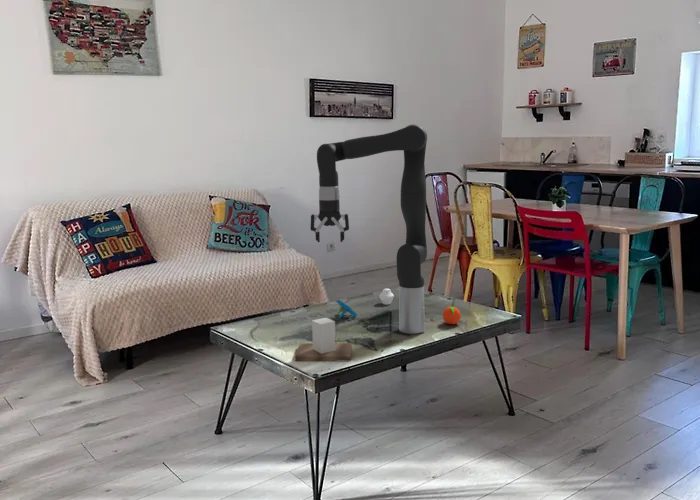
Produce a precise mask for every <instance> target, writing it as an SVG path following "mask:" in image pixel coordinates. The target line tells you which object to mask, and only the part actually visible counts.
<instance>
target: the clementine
mask: <svg viewBox="0 0 700 500" xmlns="http://www.w3.org/2000/svg"><path fill="white" fill-rule="evenodd" d="M461 313H462V312H461V311H460V310H459V308H457V307H456V306H453V305H451V306H447V307H446V308H445V309H444V310H443V312H442V319H443V321H444V323H446V324H448V325H451V324H453V325H455V324H458V323H459V322H460V320H461V318H462V314H461Z"/></svg>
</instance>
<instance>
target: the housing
mask: <svg viewBox="0 0 700 500" xmlns="http://www.w3.org/2000/svg"><path fill="white" fill-rule="evenodd" d="M311 325H312V327H311V328H312V330H311V331H312V343H313V349H314V350H315V351H317V352H319V353H321V354H322V353H326V352H331V351H335V350H336V348H335V343H336V321H335V320H333V319H331V318H328V317H322V318H317V319H312V320H311Z"/></svg>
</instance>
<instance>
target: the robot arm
mask: <svg viewBox="0 0 700 500" xmlns="http://www.w3.org/2000/svg"><path fill="white" fill-rule="evenodd" d="M427 141H428V133H427V131H426V130H425V128H423V127H422V126H421V125H418V124H409V125H407V126H405V127H402V128H401V129H398V130H397V129H396V130H394V131H391V132H387V133H384V134H383V133H382V134H377V135H370V136H367V135H366V136H363V137H362V136H361V137H356V138H351V139H347V140H344V141H339V142H338V141H337V142H333V143H332V142H331V143H323V144H320V145H319V147H318V148H317V151H316V163H317V167H318V168H317V170H318V173H319V177H318V182H319V188H318V205H319V206H318V210H319V212H318V214H314V213H312V214H311V215H310V231H311V232H314V233H315V241H316V242H317V243H320V241H321V239H320V238H321V237H320V236H321V234H320V232H321V231H320V230H322V229H321V228H323V226H325V227H329V226H331V227H334V226H336V227H337V228H338V229H339V231H340V232H339V234H340V238H339V239H340V243H343V241H344V240H345V232H347V231H349V229H350V221H349V214H348V213H344V214H341V213H340V212H341V211H340V209H341V208H340V190H339V187H340V186H339V172H338V171H337V167H336V166H337V165H336V162H340V161H345V160H352V159H353V160H354V159H359V158H360V159H361V158H364V157H370V156H373V155H378V154H382V153H386V152H387V153H388V152H394V151H395V152H396V151H403V158H404V159H403V161H404V162H403V171H402V177H401V183H400V210H401V214H402V216H403V220H404V223H405V227H406V229H405V230H406V231H405V233H406V238H405V244H402V245H401V246H400V247H399V248H398V249H397V251H396V277H397V280H398V283H399V284H398V306H399V307H398V317H399V318H398V331H399V332H400V333H403V334H420V333H421V334H422V333H425V332H426V331H425V326H426V325H425V322H426V321H425V318H426V317H425V315H426V314H425V313H426V312H425V311H426V308H425V277H423V276H422V272H421V268H422V267H421V265H422V264H424V263H425V261H426V259H427V256H428V247H427V237H426V221H427V220H426V218H427V216H426V212H427V181H426V180H427V179H426V170H425V169H426V167H425V158H426V150H427V143H428V142H427ZM341 218H342V219H343V221H344V225H345V226H343V225H342V223H340V219H341ZM317 219H319V221H320V223H319V224H318V226H317V227H315V221H316V220H317Z"/></svg>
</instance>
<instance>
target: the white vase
mask: <svg viewBox="0 0 700 500" xmlns="http://www.w3.org/2000/svg"><path fill="white" fill-rule="evenodd" d="M394 297H395V295H394V294H393V292H392V291H391V289H390V288H383V289H382V292H381V293H380V294H379V298H380V301H381V303H382V304H383V305H385V306H386V305H390V304H392V302H393V299H394Z"/></svg>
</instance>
